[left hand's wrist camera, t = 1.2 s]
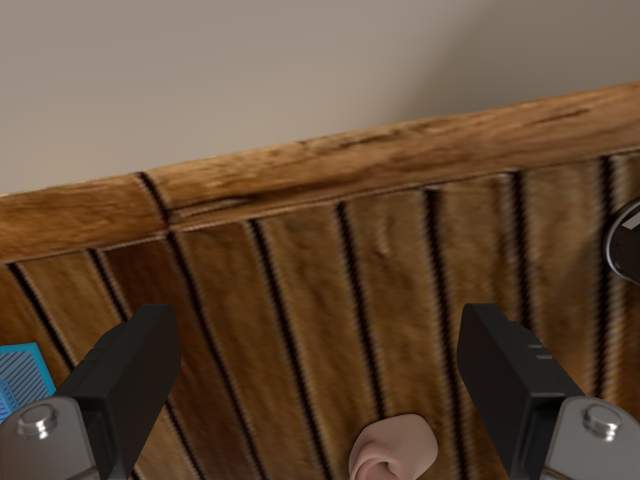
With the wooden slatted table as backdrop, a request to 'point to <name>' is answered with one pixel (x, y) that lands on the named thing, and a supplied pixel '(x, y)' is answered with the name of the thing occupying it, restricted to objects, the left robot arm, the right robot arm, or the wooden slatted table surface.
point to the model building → (22, 377)
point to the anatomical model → (393, 449)
